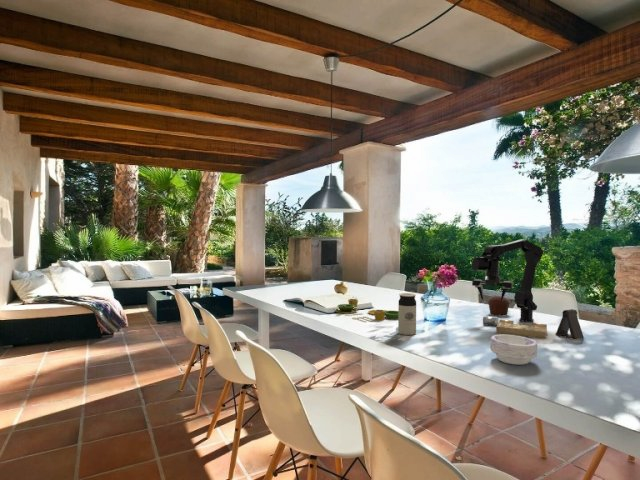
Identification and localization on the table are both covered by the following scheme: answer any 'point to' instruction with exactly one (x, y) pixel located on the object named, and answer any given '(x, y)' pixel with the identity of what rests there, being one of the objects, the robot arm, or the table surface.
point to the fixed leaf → (522, 329)
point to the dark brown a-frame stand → (570, 325)
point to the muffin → (498, 305)
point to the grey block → (490, 320)
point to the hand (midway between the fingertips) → (492, 300)
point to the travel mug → (407, 314)
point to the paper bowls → (513, 349)
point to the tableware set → (378, 313)
